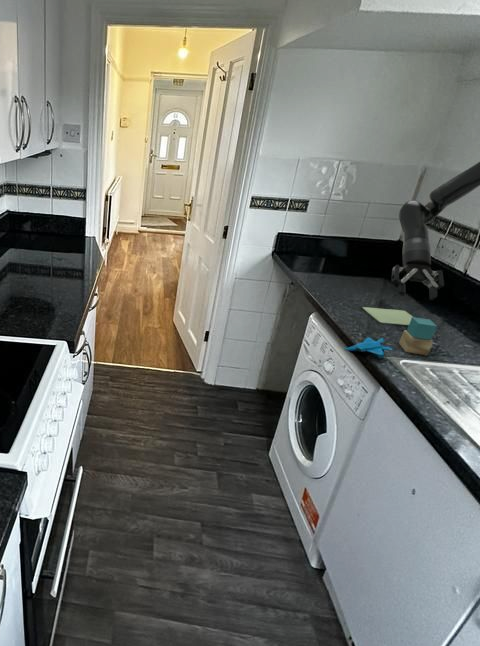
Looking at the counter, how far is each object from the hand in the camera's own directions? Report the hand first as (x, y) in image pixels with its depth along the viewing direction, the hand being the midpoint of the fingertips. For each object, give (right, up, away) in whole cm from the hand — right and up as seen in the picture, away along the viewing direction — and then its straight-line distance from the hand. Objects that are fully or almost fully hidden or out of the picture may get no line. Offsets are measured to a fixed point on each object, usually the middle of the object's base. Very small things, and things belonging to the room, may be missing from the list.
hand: (417, 297), depth 135 cm
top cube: (-3, -12, -4) cm, 13 cm away
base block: (-3, -17, -2) cm, 17 cm away
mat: (+7, -7, +21) cm, 23 cm away
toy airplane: (-21, -18, -6) cm, 28 cm away
